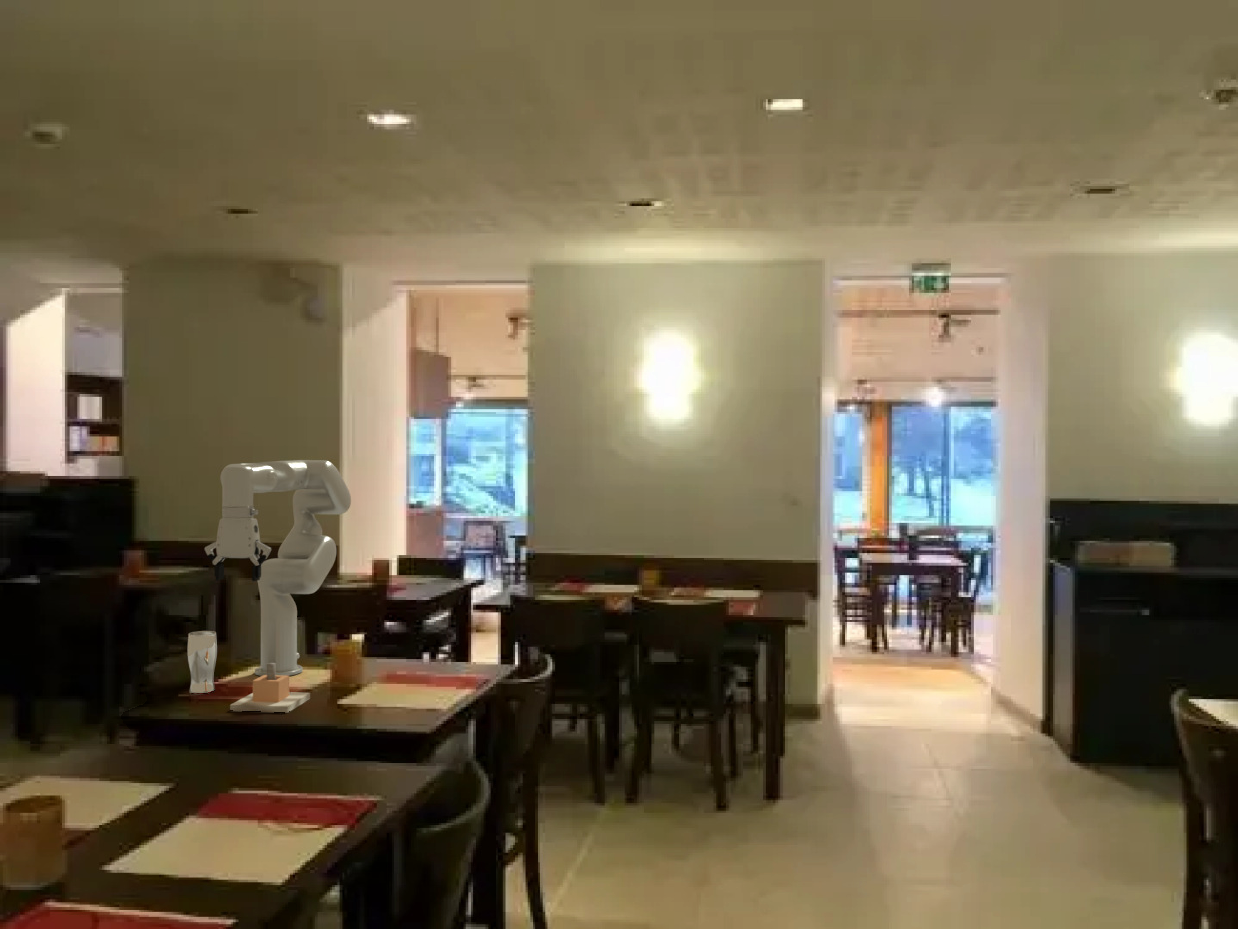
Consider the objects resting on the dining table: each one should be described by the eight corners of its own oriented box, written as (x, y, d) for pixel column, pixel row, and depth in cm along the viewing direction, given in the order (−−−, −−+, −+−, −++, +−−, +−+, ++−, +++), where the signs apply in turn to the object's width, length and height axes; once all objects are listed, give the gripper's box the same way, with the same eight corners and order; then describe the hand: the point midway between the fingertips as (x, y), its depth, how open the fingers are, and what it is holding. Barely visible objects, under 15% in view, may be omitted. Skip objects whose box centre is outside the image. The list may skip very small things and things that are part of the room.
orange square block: (263, 695, 259) (263, 675, 259) (289, 696, 258) (289, 675, 258) (252, 701, 252) (252, 680, 252) (278, 702, 252) (278, 681, 252)
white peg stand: (255, 697, 263) (255, 657, 263) (310, 698, 262) (310, 658, 261) (230, 711, 249) (230, 669, 249) (287, 713, 248) (287, 670, 247)
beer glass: (221, 689, 271) (221, 631, 271) (208, 695, 264) (208, 636, 264) (196, 688, 272) (196, 630, 272) (182, 694, 265) (182, 635, 265)
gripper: (276, 513, 273) (276, 579, 273) (212, 512, 274) (212, 577, 275) (264, 515, 265) (264, 582, 266) (198, 514, 267) (198, 581, 267)
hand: (237, 580), depth 270 cm, fingers open, 9 cm apart
